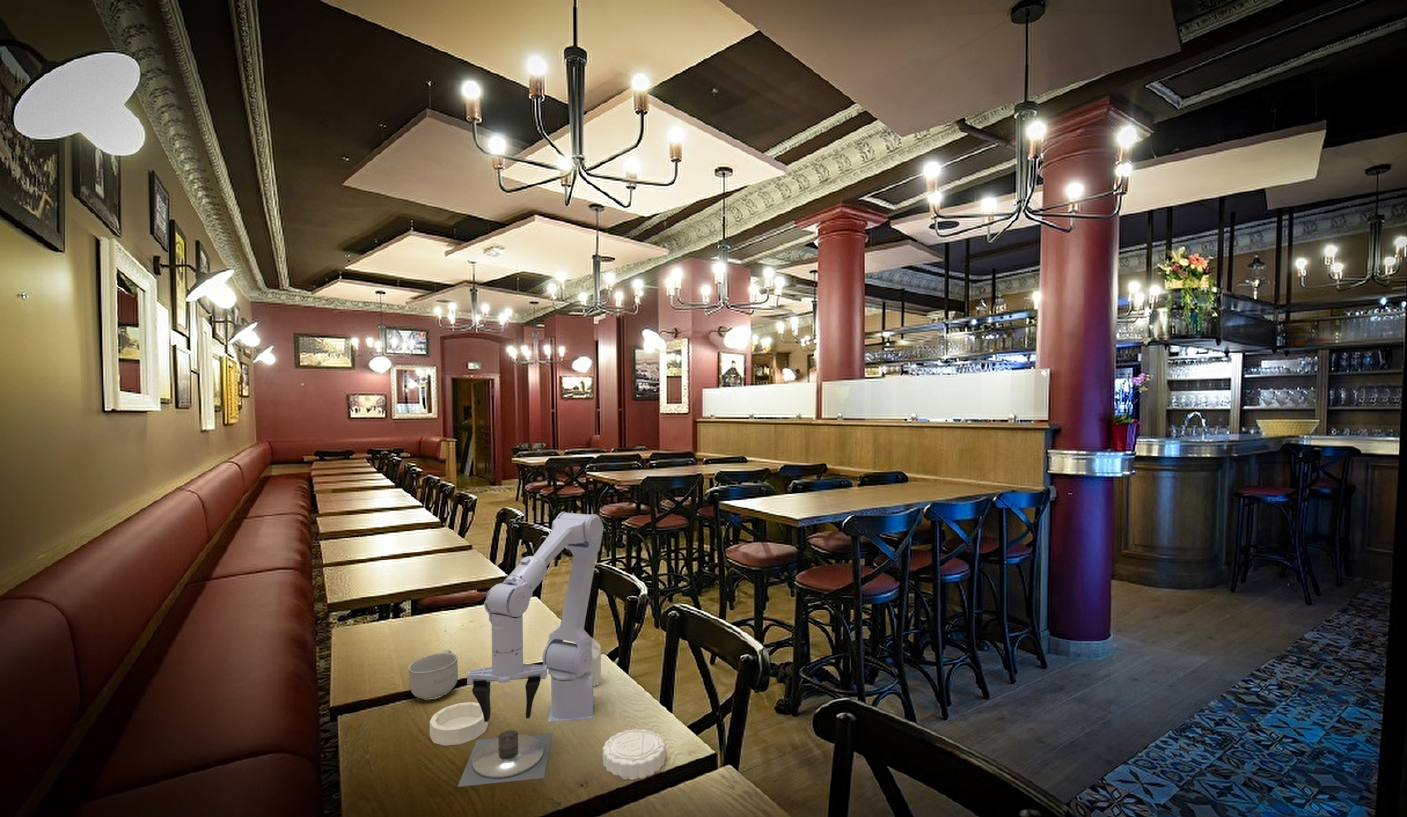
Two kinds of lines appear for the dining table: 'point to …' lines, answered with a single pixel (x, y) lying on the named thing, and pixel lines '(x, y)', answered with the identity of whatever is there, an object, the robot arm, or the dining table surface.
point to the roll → (596, 662)
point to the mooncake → (634, 754)
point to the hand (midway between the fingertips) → (508, 717)
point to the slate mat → (535, 773)
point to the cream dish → (457, 724)
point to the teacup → (433, 675)
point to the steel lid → (507, 756)
